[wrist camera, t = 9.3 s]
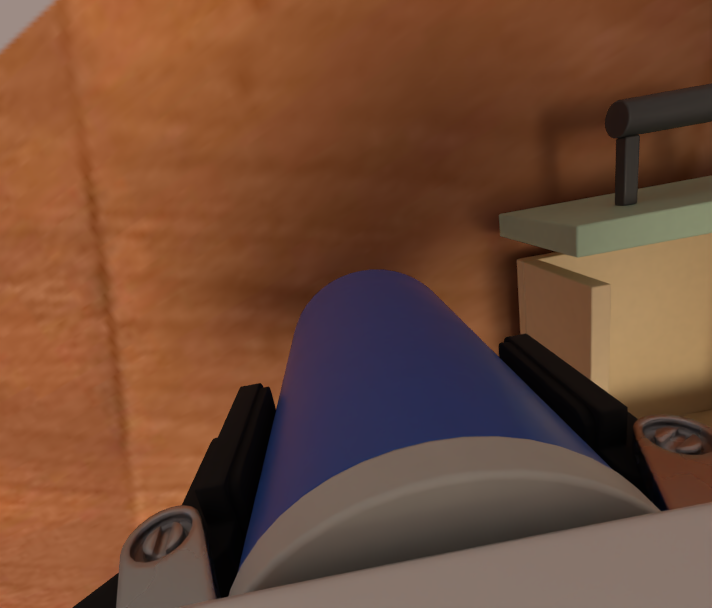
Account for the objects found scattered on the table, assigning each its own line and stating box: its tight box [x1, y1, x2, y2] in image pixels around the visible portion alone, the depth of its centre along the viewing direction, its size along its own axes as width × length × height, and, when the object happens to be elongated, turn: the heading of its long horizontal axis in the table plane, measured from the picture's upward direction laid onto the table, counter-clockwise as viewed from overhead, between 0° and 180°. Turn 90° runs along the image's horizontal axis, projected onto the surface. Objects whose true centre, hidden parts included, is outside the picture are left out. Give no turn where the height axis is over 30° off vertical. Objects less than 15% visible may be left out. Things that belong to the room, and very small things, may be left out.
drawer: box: [499, 84, 712, 428], centre depth 19 cm, size 19×13×7 cm
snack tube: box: [228, 269, 661, 597], centre depth 10 cm, size 6×6×11 cm
